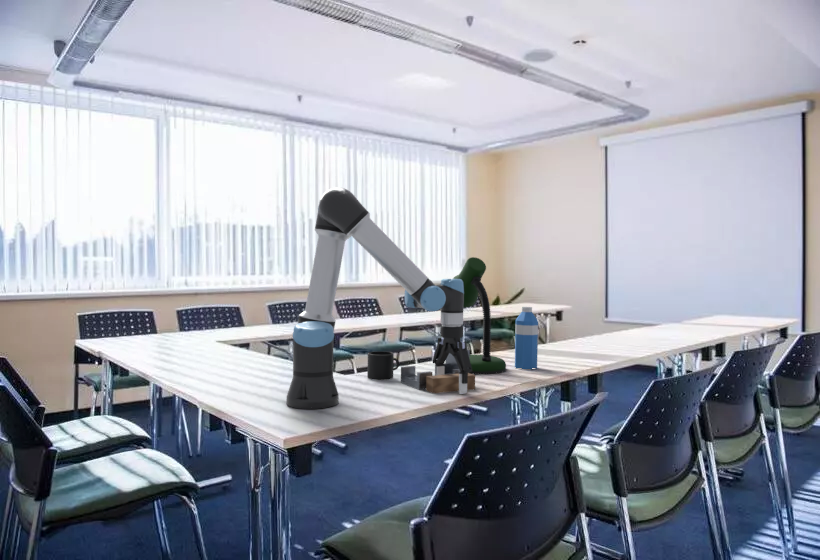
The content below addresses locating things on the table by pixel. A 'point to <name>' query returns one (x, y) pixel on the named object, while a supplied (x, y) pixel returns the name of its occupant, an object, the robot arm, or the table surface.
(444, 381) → the brown wooden bar
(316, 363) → the robot arm
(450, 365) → the cup bracket
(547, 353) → the table surface
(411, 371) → the saddle bracket
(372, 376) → the mug
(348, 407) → the table surface
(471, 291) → the desk lamp
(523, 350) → the water bottle
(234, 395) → the table surface
